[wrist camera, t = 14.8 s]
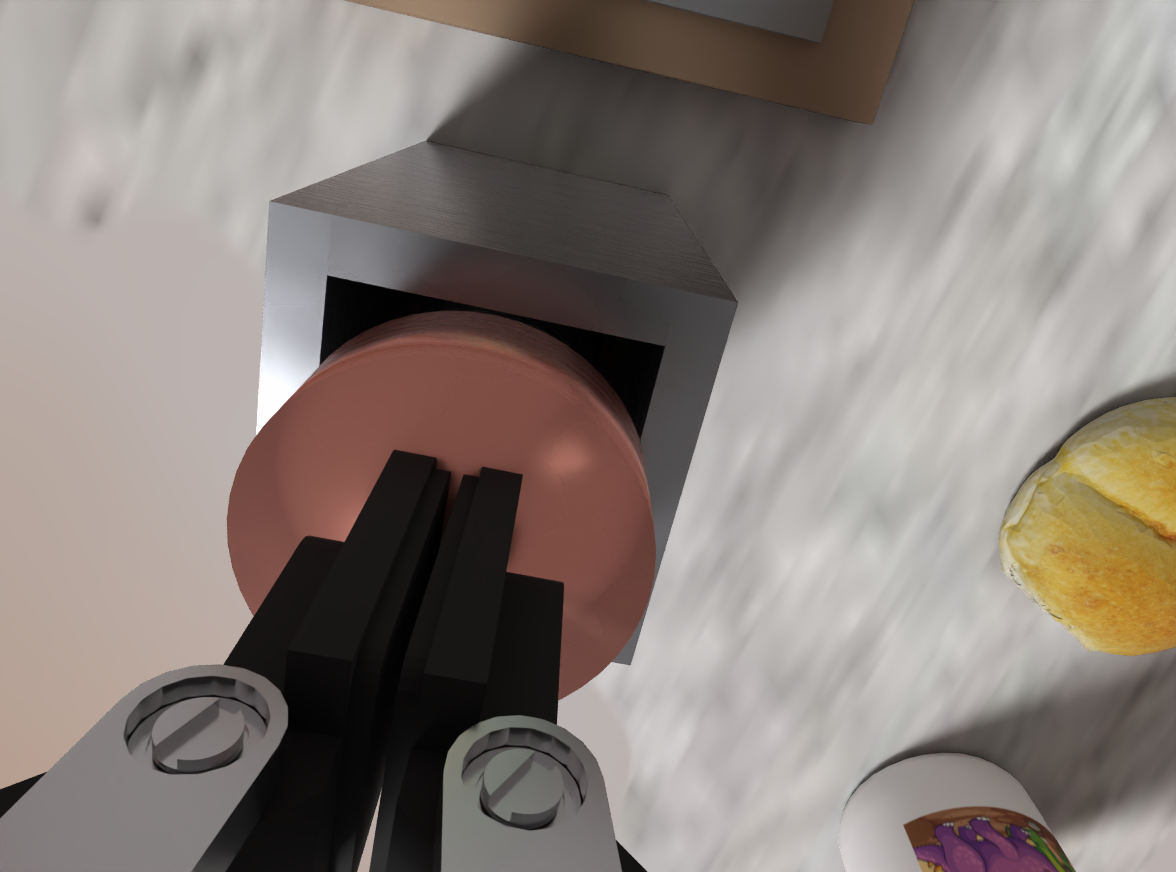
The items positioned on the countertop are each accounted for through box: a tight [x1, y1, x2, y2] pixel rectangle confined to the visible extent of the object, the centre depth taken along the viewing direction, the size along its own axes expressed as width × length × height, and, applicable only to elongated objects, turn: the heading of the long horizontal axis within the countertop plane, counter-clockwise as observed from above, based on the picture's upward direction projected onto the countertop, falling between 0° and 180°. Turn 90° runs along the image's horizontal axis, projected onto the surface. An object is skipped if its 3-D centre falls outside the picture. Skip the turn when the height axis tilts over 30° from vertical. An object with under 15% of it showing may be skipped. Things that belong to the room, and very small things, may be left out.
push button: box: [227, 298, 656, 700], centre depth 15 cm, size 6×6×9 cm
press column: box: [257, 141, 738, 665], centre depth 19 cm, size 7×7×12 cm
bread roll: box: [999, 397, 1176, 656], centre depth 26 cm, size 8×9×4 cm
